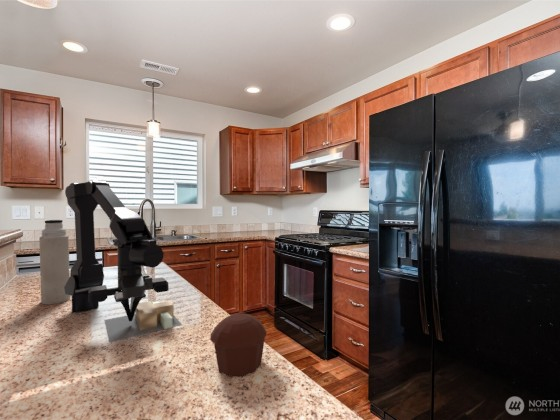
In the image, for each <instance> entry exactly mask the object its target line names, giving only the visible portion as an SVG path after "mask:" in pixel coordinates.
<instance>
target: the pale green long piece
mask: <svg viewBox="0 0 560 420" xmlns="http://www.w3.org/2000/svg"><path fill="white" fill-rule="evenodd" d="M151 303H152V304H155V303H160V301H158V300H157V301H152V302H151ZM160 323H161V324H162V326H163V327H164V329H163V330H166V329H167V328H168V329H170V328H171V327H172V328H174V327H173V325H172V317H171V315H170V314H169V313H168V312H165V313H160ZM168 329H167V330H168Z"/></svg>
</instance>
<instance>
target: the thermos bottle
mask: <svg viewBox="0 0 560 420" xmlns="http://www.w3.org/2000/svg"><path fill="white" fill-rule="evenodd" d="M44 223H45V225H44V229H42V230H41V236H39V266H40V268H39V269H40V270H39V271H40V273H39V274H40V303H41V304H42V305H57V304H60V303H64V302H67V301H69V300H70V299H71V296H70V295H67V294H65V289H64V287H65V285H66V283H67V281H68V279H69V278H70V246H69V245H70V244H69V235H68V234H67V229H66V228H64V227H63V226H64V225H63V219H48V220H44Z"/></svg>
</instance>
